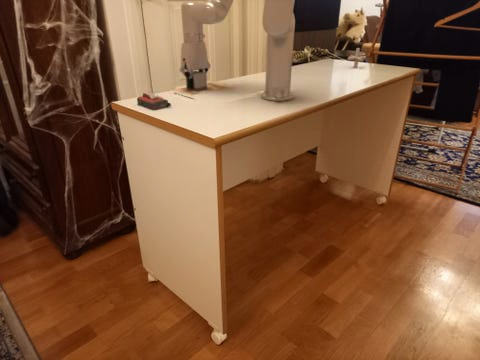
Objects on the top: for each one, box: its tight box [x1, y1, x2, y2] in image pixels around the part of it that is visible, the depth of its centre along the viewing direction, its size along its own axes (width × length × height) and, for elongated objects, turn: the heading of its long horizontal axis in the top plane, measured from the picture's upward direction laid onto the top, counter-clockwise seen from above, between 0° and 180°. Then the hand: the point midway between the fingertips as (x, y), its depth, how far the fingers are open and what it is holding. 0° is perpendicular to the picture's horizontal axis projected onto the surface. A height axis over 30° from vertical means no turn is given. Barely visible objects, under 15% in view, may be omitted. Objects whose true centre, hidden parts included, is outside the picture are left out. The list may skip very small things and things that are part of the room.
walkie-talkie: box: [136, 91, 172, 111], centre depth 128 cm, size 9×4×20 cm
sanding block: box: [185, 70, 208, 92], centre depth 140 cm, size 5×7×6 cm
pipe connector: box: [347, 47, 367, 69], centre depth 187 cm, size 10×10×10 cm
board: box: [173, 81, 234, 100], centre depth 144 cm, size 22×12×2 cm, turn 134°
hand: (196, 86), depth 141 cm, fingers closed on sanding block, 5 cm apart
